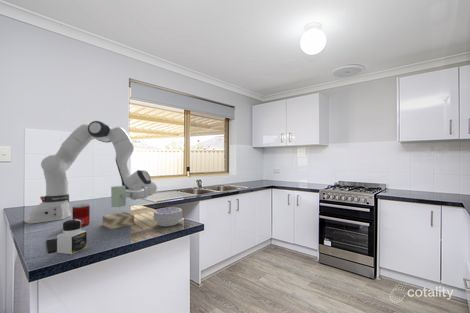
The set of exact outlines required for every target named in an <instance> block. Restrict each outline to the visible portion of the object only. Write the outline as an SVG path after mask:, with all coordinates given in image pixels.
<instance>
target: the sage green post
mask: <svg viewBox="0 0 470 313" xmlns="http://www.w3.org/2000/svg"><path fill="white" fill-rule="evenodd" d="M110 188H111V189H110V191H111V192H110V194H111V196H110V198H111V201H110V202H111V208H122V207H126V205H127V204H126V202H127V201H126V200H127V199H126V198H127V197H121V194H126V191H125V186H122V185H113V186H111V187H110Z"/></svg>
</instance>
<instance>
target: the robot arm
mask: <svg viewBox="0 0 470 313" xmlns="http://www.w3.org/2000/svg"><path fill="white" fill-rule="evenodd" d="M92 140H97V141H99V142H102V143H105V144H107V143H112V145H113V147H114V150H115V162H116V166H117V170H118V173H119V176H120V179H121V186H125V191H126V194H121V197H126V198H128V199H129V198H130V199H131V200H134V201H135V200H139V199H147V198H148V197H150V196H153V195H154V194H156V192H157V191H158V190H157V189H158V187H157V186H158V185H156V183H155V182H154V181H153V180H151V176H150V174H149V172H148V171H146V170H145V169H140V168H139V169H137V170H136V171H134V172H133V173H131V172H130V171H129V167H128V161H129V159H130V157H131V156H132V154H133V152H134V148H135V147H134V144H133V143H134V142H133V141H132V139H131V138H130V136H129V134H128V133H127V131H126V130H125V129H124V128H123V127H121V126H117V127H116V126H115V127H113V128H112V127H110V126H109V124H106V123H104V122H103V121H100V120H93V121H91V122H90V123H89V124H86V123H84V124H81V125H80V126H78V127H77V128H75V129H74V130H73V131H72V132H71V133H70V135H69V136H68V137H67V138H65V140H64V141H63V142H62V143H61V145H60V147H59V149H58V150H57V152H56V153H55V154H52V155H51V154H50V155H48V156H46V157H45V158H43V159H42V160H41V163H40V166H41V169H42V171H43V175H44V180H45V191H46V192H45V195H44V196H43V195H42V196H40V197H39V199H40V200H41V203H39V204H37V205H36V206H35V207H33V208H32V209H31V211H30V213H29V217H27V218H25V219H24V223H25V224H30V225H31V224H37V223H47V222H53V221H62V220H64V219H66V218H67V219H68V218H70V217H71V216H72V213H71V210H70V204H69V203H70V194H69V181H68V178H67V173H66V171H68V170H69V169H70V167H71V166H72V165H73V164H74V162H75V161H76V160H77V158H78V156H79V155H80V154H81V152H82V151H83V150H84V149H85V148H86V147H87V146H88V144H89V143H90V142H92Z"/></svg>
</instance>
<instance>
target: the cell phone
mask: <svg viewBox="0 0 470 313" xmlns="http://www.w3.org/2000/svg"><path fill="white" fill-rule="evenodd" d="M46 247H47V253H48V254H53V253H57V237H56V238H51V239H47V240H46Z"/></svg>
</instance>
